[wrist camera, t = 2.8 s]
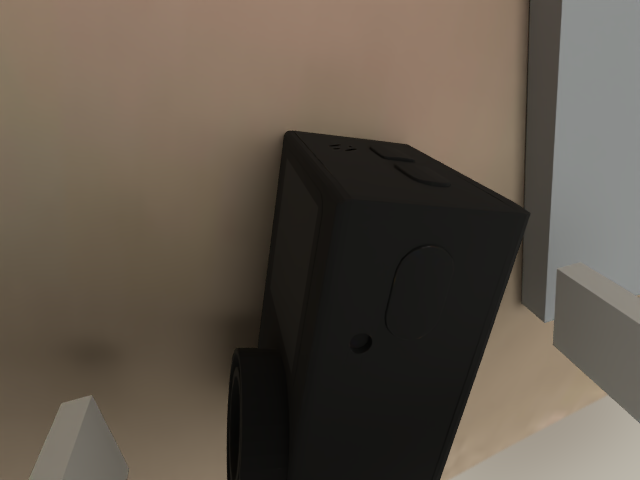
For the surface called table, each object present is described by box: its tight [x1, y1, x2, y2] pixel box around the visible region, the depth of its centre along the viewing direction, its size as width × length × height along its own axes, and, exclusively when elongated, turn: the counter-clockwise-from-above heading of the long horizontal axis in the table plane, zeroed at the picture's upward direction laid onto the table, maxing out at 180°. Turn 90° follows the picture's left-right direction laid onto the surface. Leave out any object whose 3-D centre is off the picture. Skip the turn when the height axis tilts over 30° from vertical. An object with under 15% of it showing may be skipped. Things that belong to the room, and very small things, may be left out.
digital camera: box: [227, 131, 531, 480], centre depth 14 cm, size 10×5×7 cm, turn 171°
